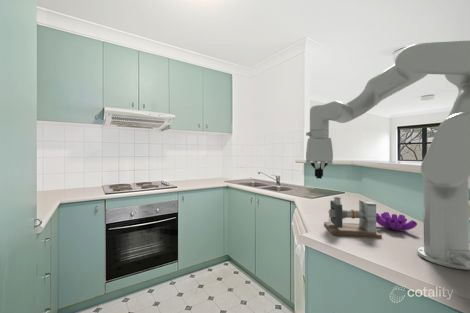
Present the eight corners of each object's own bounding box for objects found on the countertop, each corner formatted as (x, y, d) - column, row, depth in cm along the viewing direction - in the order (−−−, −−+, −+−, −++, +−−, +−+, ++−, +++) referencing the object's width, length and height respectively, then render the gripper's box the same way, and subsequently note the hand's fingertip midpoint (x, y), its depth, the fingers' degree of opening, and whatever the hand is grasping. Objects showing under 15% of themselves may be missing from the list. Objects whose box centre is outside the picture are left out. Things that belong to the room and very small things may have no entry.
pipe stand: (381, 238, 79) (381, 205, 79) (333, 235, 82) (333, 204, 82) (365, 226, 93) (364, 198, 93) (324, 224, 95) (324, 197, 96)
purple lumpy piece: (394, 242, 83) (377, 221, 85) (382, 230, 98) (367, 212, 100) (422, 227, 80) (404, 206, 82) (405, 217, 95) (390, 199, 97)
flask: (326, 215, 111) (326, 196, 111) (337, 214, 113) (337, 195, 113) (337, 219, 104) (336, 199, 104) (348, 218, 106) (348, 198, 106)
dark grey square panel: (342, 227, 83) (342, 205, 84) (337, 227, 84) (336, 204, 84) (335, 221, 92) (335, 200, 92) (330, 220, 93) (330, 200, 93)
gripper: (302, 134, 87) (301, 178, 87) (340, 134, 85) (340, 179, 85) (299, 136, 95) (299, 177, 95) (335, 135, 92) (334, 177, 92)
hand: (318, 178), depth 90 cm, fingers closed
